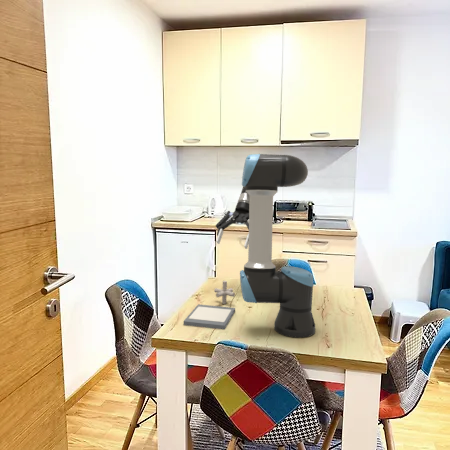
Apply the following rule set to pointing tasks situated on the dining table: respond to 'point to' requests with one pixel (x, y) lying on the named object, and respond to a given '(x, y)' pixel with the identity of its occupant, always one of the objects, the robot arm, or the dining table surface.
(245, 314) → the dining table surface
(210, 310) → the board
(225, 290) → the pipe connector
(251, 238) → the robot arm
